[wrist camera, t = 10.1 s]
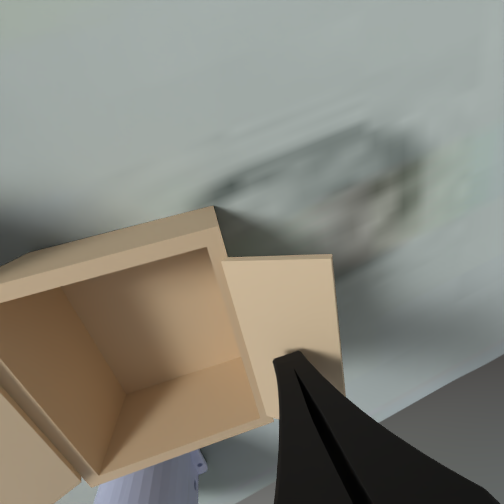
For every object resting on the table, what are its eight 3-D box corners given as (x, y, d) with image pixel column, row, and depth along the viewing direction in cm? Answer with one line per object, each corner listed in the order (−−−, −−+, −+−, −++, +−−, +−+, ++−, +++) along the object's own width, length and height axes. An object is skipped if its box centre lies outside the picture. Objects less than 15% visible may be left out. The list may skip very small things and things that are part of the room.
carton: (255, 355, 21) (274, 421, 16) (121, 399, 20) (91, 487, 15) (213, 205, 16) (218, 225, 11) (29, 252, 15) (-73, 303, 9)
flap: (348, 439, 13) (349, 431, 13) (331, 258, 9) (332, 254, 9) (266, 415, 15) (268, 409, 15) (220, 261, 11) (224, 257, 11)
